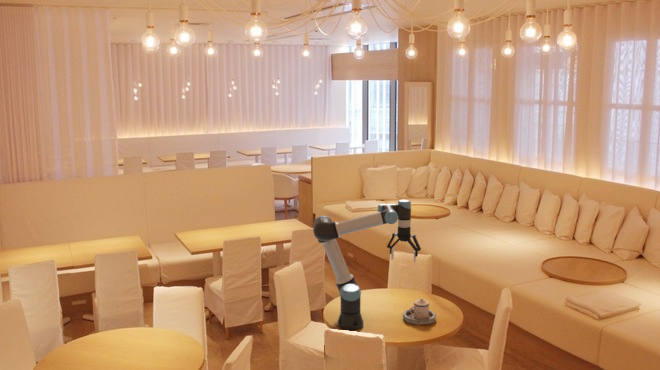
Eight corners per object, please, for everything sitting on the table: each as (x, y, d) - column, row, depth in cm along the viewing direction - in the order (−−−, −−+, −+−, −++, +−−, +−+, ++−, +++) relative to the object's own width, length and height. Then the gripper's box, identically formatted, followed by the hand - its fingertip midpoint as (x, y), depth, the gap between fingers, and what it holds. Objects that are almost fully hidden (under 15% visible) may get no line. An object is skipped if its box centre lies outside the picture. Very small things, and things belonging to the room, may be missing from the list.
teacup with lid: (425, 313, 389) (425, 295, 387) (431, 319, 380) (431, 300, 378) (406, 315, 386) (407, 297, 383) (412, 321, 377) (413, 302, 375)
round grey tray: (399, 323, 378) (399, 318, 377) (407, 311, 395) (407, 306, 395) (431, 327, 371) (432, 322, 370) (438, 315, 389) (438, 310, 388)
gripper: (426, 226, 378) (425, 260, 382) (385, 222, 386) (385, 256, 390) (423, 229, 371) (422, 264, 375) (382, 225, 379) (381, 259, 384)
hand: (403, 260), depth 383 cm, fingers open, 13 cm apart
